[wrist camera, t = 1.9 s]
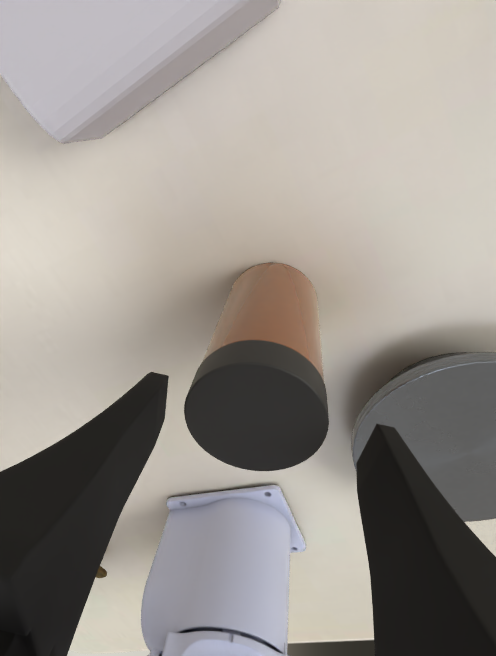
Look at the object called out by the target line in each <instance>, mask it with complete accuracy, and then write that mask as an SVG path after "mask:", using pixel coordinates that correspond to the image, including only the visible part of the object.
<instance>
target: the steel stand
mask: <svg viewBox="0 0 496 656" xmlns="http://www.w3.org/2000/svg"><path fill="white" fill-rule="evenodd" d="M376 424H381V425H386V426H390V427H395V429H396V430H397V432H398V433H399V434H400V436H401V437H402V439H403V440H404V442H405V443H406V445H407V446H408V448H409V449H410V451H411V452H412V453H413V455H414V456H415V458H416V459H417V461H418V462H419V464H420V465H421V466H422V468H423V469H424V471H425V472H426V474H427V475H428V476H429V478H430V479H431V480H432V482H433V483H434V485H435V486H436V487H437V489H438V490H439V491H440V493H441V494H442V495H443V497H444V498H445V499H446V500H447V502H448V503H449V504H450V505H451V507H452V508H453V509H454V510H455V512H456V513H457V514H458V515H459V517H460V518H461V519H462V520H463V521H464V522H467V521H481V520H489V519H495V518H496V352H480V353H451V354H444V355H439V356H435V357H431V358H428V359H425V360H422V361H420V362H418V363H415V364H413V365H411V366H409V367H408V368H406V369H404V370H403V371H401V372H400V373H398V374H397V375H396V376H394V377H393V378H392V379H391V380H390V381H389V382H388V383H387V384H386V385H385V386H383V387H382V388H381V389H380V390H379V391H378V392H376V393H375V394H374V395H373V396H372V397H371V398H370V400H369V401H368V402H367V403H366V405H365V406H364V407H363V409H362V410H361V412H360V414H359V416H358V418H357V420H356V422H355V425H354V428H353V432H352V438H351V449H352V456H353V461H354V466H355V469H356V471H357V468H356V463H357V461H358V459H359V457H360V455H361V453H362V451H363V449H364V447H365V445H366V443H367V441H368V439H369V437H370V436H371V434H372V432H373V430H374V428H375V426H376Z"/></svg>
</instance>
